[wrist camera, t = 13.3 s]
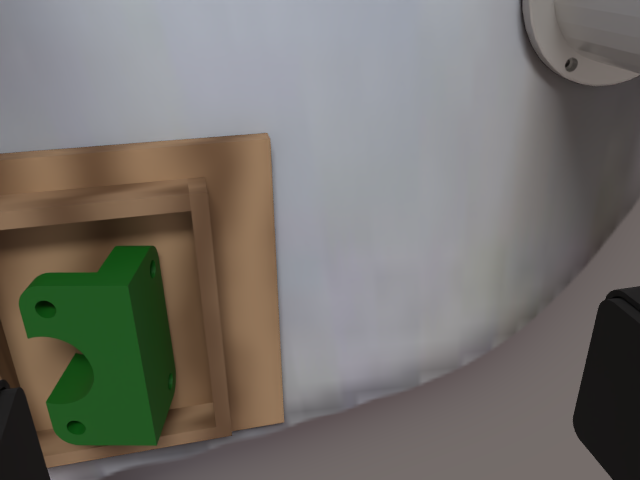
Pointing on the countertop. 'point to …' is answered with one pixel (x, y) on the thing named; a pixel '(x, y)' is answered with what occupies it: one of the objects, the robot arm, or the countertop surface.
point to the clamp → (107, 348)
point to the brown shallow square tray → (176, 270)
